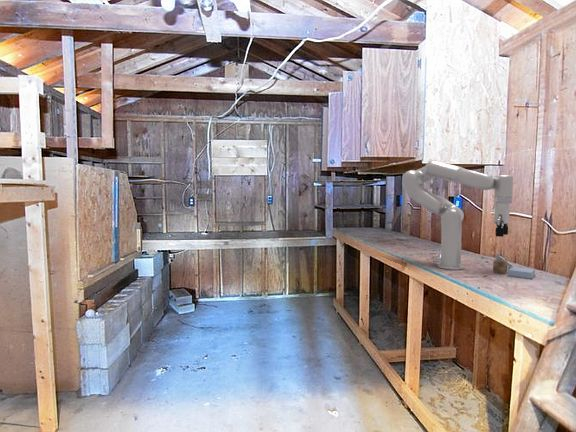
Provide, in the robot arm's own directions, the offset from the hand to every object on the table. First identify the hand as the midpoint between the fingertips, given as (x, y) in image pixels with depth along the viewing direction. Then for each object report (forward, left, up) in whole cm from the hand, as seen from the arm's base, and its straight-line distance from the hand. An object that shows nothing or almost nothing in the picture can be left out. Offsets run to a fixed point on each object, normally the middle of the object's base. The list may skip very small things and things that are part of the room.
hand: (501, 235), depth 170 cm
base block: (+9, -1, -19) cm, 21 cm away
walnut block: (0, 0, -19) cm, 19 cm away
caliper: (0, +17, -19) cm, 25 cm away
